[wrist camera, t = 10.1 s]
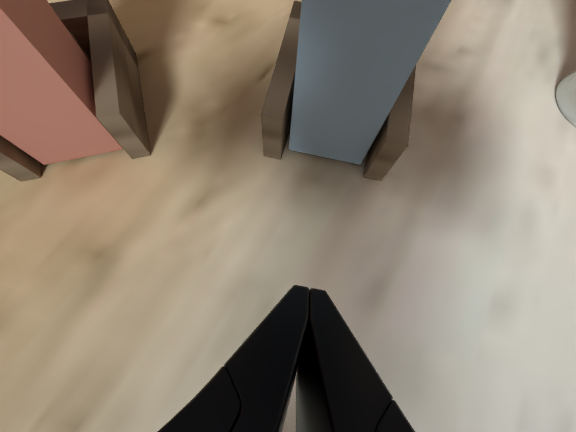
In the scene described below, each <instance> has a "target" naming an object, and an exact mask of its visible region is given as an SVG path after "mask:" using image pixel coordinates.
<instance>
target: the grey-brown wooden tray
mask: <svg viewBox="0 0 576 432" xmlns="http://www.w3.org/2000/svg"><path fill="white" fill-rule="evenodd" d="M49 4H50V6H51V7H52V9H53V10H54V11H55V13H56V14H57V16H58V17H59V18H60V20H61V21H62V23H63V24H64V26H65V27H66V28H67V30H68V31H69V33H70V34H71V35H72V37H73V38H74V40H75V41H76V43H77V44H78V45H79V47H80V48H81V50H82V51H83V52H84V54H85V55H86V57H87V58H88V60H89V61H90V62H91V64H92V74H93V85H94V96H95V107H96V118H97V119H98V120H99V121H100V122H101V123H102V124H103V126H104V127H105V128H106V129H107V130H108V131H109V133H110V134H111V135H112V136H113V137H114V138H115V139H116V141H117V142H118V143H119V144H120V145H121V146H122V147H123V149H124V150H125V151H126V152H127V153H128V154H129V156H130V157H131V158H132V159H134V158H139V157H144V156H149V155H150V148H149V141H148V134H147V127H146V120H145V113H144V107H143V100H142V93H141V86H140V79H139V72H138V65H137V58H136V53H135V51H134V49H133V47H132V45H131V43H130V42H129V40H128V38H127V36H126V34H125V32H124V30H123V28H122V26H121V24H120V22H119V20H118V18H117V16H116V14H115V12H114V10H113V9H112V7H111V5H110V3H109V1H108V0H70V1H63V2H56V3H49ZM0 170H1V171H3V172H5V173H7V174H9V175H10V176H12V177H14V178H16V179H18V180H19V181H26V180H31V179H36V178H41V163H40V162H39V161H38V160H36V159H35V158H33V157H32V156H30V155H29V154H27V153H26V152H24V151H23V150H21V149H20V148H19V147H17V146H16V145H14V144H13V143H11V142H10V141H8V140H7V139H5V138H4V137H2V136H1V135H0Z"/></svg>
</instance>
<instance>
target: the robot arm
mask: <svg viewBox="0 0 576 432" xmlns="http://www.w3.org/2000/svg"><path fill="white" fill-rule="evenodd" d="M296 372H297V375H296ZM295 376H296V432H415V431H414V429H413V428H412V426H411V425H410V423H409V422H408V420H407V419H406V417H405V416H404V414H403V413H402V411H401V409H400V408H399V406H398V405H397V403H396V402H395V401H394V400H392V399H393V397H392V395H391V394H390V392H389V391H388V389H387V388H386V386H385V384H384V383H383V381H382V380H381V378H380V376H379V375H378V373H377V372H376V370H375V368H374V367H373V365H372V364H371V362H370V361H369V359H368V357H367V356H366V354H365V353H364V351H363V349H362V348H361V346H360V345H359V343H358V341H357V340H356V338H355V337H354V335H353V334H352V332H351V330H350V329H349V327H348V326H347V324H346V322H345V321H344V319H343V318H342V316H341V315H340V313H339V311H338V310H337V308H336V307H335V305H334V303H333V302H332V300H331V299H330V297H329V295H328V294H327V292H326V291H324V290H320V289H314V288H311V289H310V290H309V288H308V287H304V286H298V285H294V286H293V287H292V288H291V289H290V290H289V291H288V292H287V294H286V295H285V296H284V297H283V298H282V299H281V300H280V302H279V303H278V304H277V305H276V306H275V307H274V308H273V310H272V311H271V312H270V313H269V314H268V315H267V316H266V318H265V319H264V320H263V321H262V322H261V323H260V324H259V326H258V327H257V328H256V329H255V330H254V331H253V332H252V334H251V335H250V336H249V337H248V338H247V339H246V340H245V342H244V343H243V344H242V345H241V346H240V347H239V348H238V350H237V351H236V352H235V353H234V354H233V355H232V356H231V358H230V359H229V360H228V361H227V362H226V363H225V365H224V366H223V367H222V368H221V369H220V370H219V371H218V372H217V373H216V374H215V376H214V377H213V378H212V379H211V380H210V381H209V382H208V383H207V384H206V385H205V386H204V388H203V389H202V390H201V391H200V392H199V393H198V394H197V395H196V396H195V397H194V398H193V399H192V400H191V401H190V402H189V403H188V404H187V405H186V406H185V407H184V408H183V409H182V410H181V411H179V412H178V413H177V414H176V415H175V416H174V417H173V418H172V419H171V420H170V421H169V422H168V423H167V424H165V425H164V426H163V427H162V428H161V429H160V430H159V431H158V432H282V429H283V425H284V421H285V417H286V413H287V409H288V405H289V401H290V397H291V393H292V389H293V385H294V381H295Z"/></svg>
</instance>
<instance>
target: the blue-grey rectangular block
mask: <svg viewBox="0 0 576 432" xmlns="http://www.w3.org/2000/svg"><path fill="white" fill-rule="evenodd" d="M450 2H451V0H302V2H301V14H300V26H299V37H298V49H297V60H296V72H295V83H294V95H293V106H292V118H291V130H290V141H289V150H293V151H297V152H302V153H307V154H312V155H316V156H321V157H326V158H331V159H335V160H340V161H345V162H350V163H354V164H359V165H361V163H362V161H363V159H364V158H365V156H366V154H367V152H368V150H369V148H370V147H371V145H372V143H373V141H374V139H375V138H376V136H377V134H378V132H379V130H380V129H381V127H382V125H383V123H384V121H385V119H386V118H387V116H388V114H389V112H390V110H391V109H392V107H393V105H394V103H395V101H396V100H397V98H398V96H399V94H400V92H401V90H402V89H403V87H404V85H405V83H406V81H407V80H408V78H409V76H410V74H411V72H412V71H413V69H414V67H415V65H416V63H417V62H418V60H419V58H420V56H421V54H422V52H423V51H424V49H425V47H426V45H427V43H428V42H429V40H430V38H431V36H432V34H433V33H434V31H435V29H436V27H437V25H438V23H439V22H440V20H441V18H442V16H443V14H444V13H445V11H446V9H447V7H448V5H449V4H450Z"/></svg>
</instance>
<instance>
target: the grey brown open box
mask: <svg viewBox="0 0 576 432" xmlns="http://www.w3.org/2000/svg"><path fill="white" fill-rule="evenodd" d="M300 14H301V2H299V1H294V3H293V7H292V10H291V14H290V17H289V21H288V24H287V28H286V31H285V34H284V38H283V41H282V45H281V48H280V52H279V55H278V59H277V62H276V66H275V69H274V73H273V76H272V79H271V83H270V86H269V90H268V93H267V97H266V100H265V104H264V107H263V111H262V114H261V119H262V135H263V152H264V156H267V157H272V158H276V159H281V156H282V152H283V148H284V145H285V141H286V137H287V133H288V129H289V125H290V121H291V117H292V106H293V95H294V83H295V72H296V60H297V49H298V37H299V26H300ZM415 69H416V65H415V67H414V69H413V71H412V72H411V74H410V76H409V78H408V80H407V81H406V83H405V85H404V87H403V89H402V90H401V92H400V94H399V96H398V98H397V100H396V101H395V103H394V105H393V107H392V109H391V110H390V112H389V114H388V116H387V118H386V119H385V121H384V123H383V125H382V127H381V129H380V130H379V132H378V134H377V136H376V138H375V139H374V141H373V143H372V145H371V147H370V148H369V150H368V152H367V158H366V165H365V172H364V177H366V178H371V179H375V180H380V181H381V180H382V179H383V177H384V176H385V175H386V174H387V172H388V171H389V170H390V168H391V167H392V166H393V164H394V163H395V162H396V160H397V159H398V158H399V156H400V155H401V154H402V152H403V151H404V150H405V149H406V147H407V146H408V139H409V129H410V119H411V109H412V99H413V89H414V79H415Z"/></svg>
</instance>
